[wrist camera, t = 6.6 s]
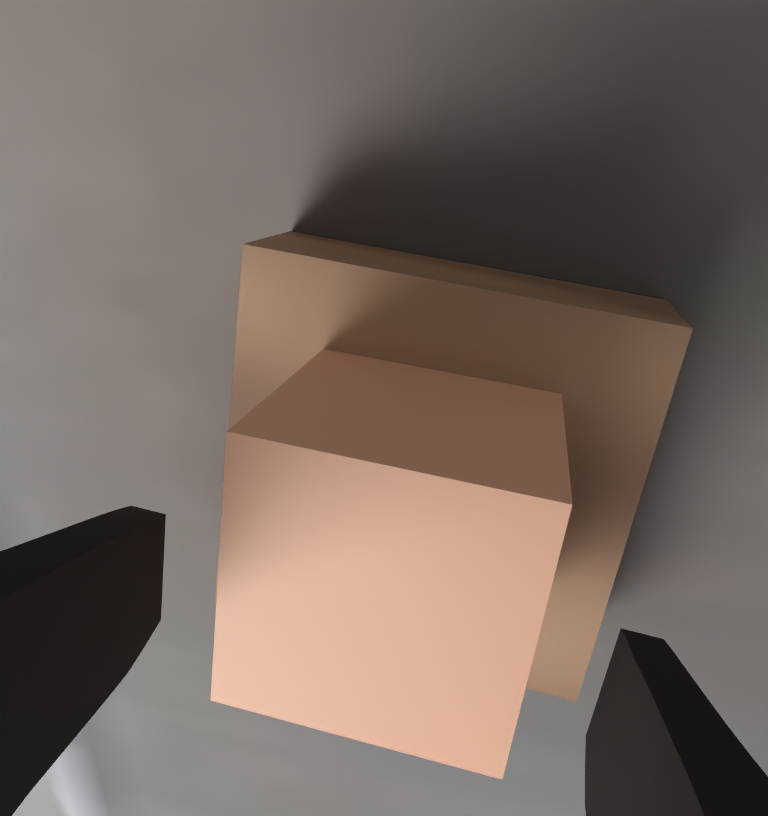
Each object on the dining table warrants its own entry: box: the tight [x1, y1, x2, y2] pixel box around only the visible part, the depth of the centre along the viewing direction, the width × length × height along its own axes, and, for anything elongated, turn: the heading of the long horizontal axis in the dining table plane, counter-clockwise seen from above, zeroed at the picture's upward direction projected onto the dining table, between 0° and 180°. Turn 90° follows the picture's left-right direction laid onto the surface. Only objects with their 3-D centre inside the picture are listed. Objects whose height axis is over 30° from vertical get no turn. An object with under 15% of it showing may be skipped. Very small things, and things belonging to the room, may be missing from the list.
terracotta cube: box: [211, 349, 572, 779], centre depth 13 cm, size 5×5×5 cm
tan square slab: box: [215, 231, 693, 702], centre depth 17 cm, size 9×9×3 cm
